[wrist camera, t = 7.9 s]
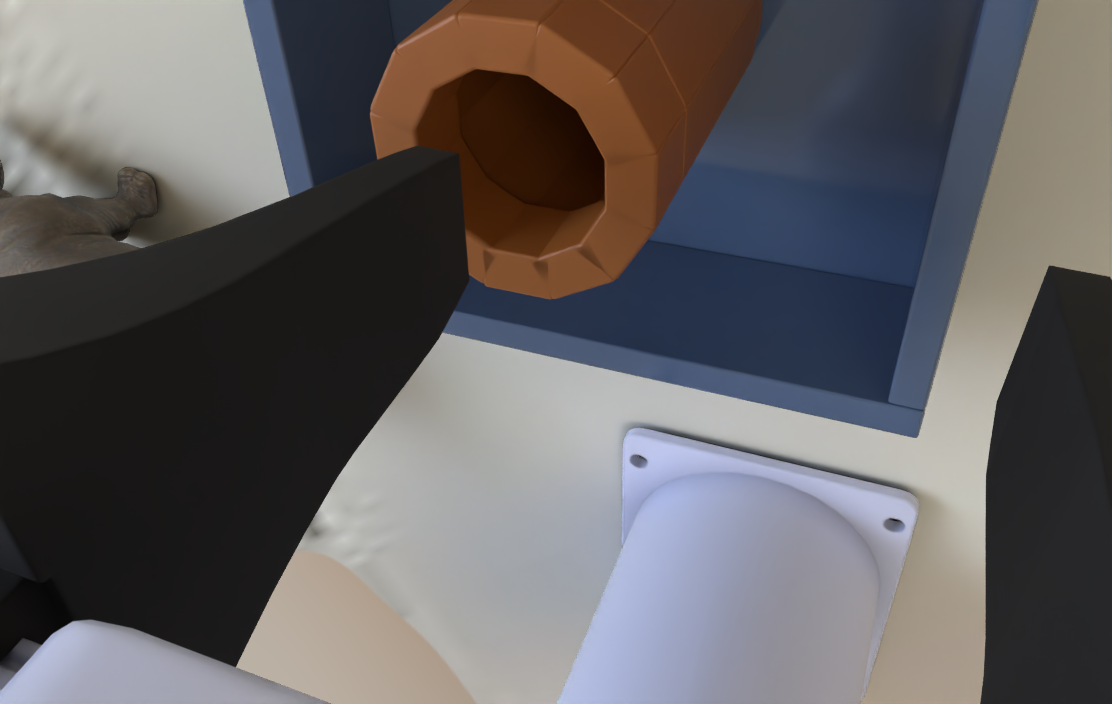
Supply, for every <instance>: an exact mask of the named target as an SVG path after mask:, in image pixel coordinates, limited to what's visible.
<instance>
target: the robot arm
mask: <svg viewBox="0 0 1112 704" xmlns="http://www.w3.org/2000/svg"><path fill="white" fill-rule="evenodd" d="M468 282H469V270H468V257H467V245H466V233H465V221H464V208H463V196H462V184H461V171H460V159H459V153H454V152H449V151H444V150H438V149H433V148H428V147H423V146H415V147H411V148H408V149H405V150H402V151H399V152H396V153H393V154H391V155H388V156H386V157H383V158H381V159H378V160H376V161H373V162H371V163H368V164H366V165H364V166H361V167H359V168H357V169H354V170H352V171H350V172H347V173H345V174H343V175H340V176H338V177H336V178H333V179H331V180H329V181H326V182H324V183H322V184H319V185H317V186H315V187H312V188H310V189H308V190H305V191H303V192H301V193H298V194H296V195H294V196H291V197H289V198H286V199H284V200H281V201H279V202H276V203H273V204H271V205H268V206H266V207H263V208H260V209H258V210H255V211H253V212H250V213H247V214H245V215H242V216H240V217H237V218H234V219H232V220H229V221H227V222H224V223H221V224H219V225H216V226H213V227H210V228H207V229H204V230H201V231H198V232H195V233H192V234H189V235H186V236H183V237H179V238H176V239H173V240H169V241H166V242H162V243H159V244H155V245H152V246H148V247H145V248H141V249H138V250H134V251H130V252H126V253H121V254H117V255H112V256H108V257H103V258H99V259H94V260H90V261H85V262H80V263H76V264H71V265H67V266H62V267H58V268H53V269H47V270H42V271H36V272H30V273H24V274H18V275H11V276H5V277H0V704H331V703H328V702H325V701H323V700H320V699H317V698H315V697H312V696H309V695H307V694H304V693H302V692H299V691H296V690H294V689H291V688H289V687H286V686H283V685H281V684H278V683H275V682H273V681H270V680H267V679H265V678H262V677H260V676H257V675H254V674H252V673H249V672H246V671H243V670H241V669H239V668H236V666H237V664H238V661H239V659H240V657H241V655H242V653H243V651H244V649H245V647H246V645H247V643H248V641H249V639H250V637H251V635H252V633H253V631H254V629H255V627H256V625H257V623H258V621H259V619H260V617H261V615H262V612H263V611H264V609H265V607H266V605H267V603H268V601H269V599H270V597H271V595H272V593H273V591H274V589H275V587H276V585H277V583H278V581H279V580H280V578H281V576H282V574H283V572H284V570H285V569H286V567H287V565H288V563H289V561H290V559H291V557H292V556H293V554H294V552H295V550H296V548H297V546H298V544H299V543H300V541H301V539H302V537H303V535H304V533H305V532H306V530H307V528H308V527H309V525H310V523H311V521H312V520H313V518H314V516H315V514H316V513H317V511H318V509H319V508H320V506H321V504H322V502H323V501H324V499H325V497H326V496H327V494H328V492H329V490H330V489H331V487H332V485H333V484H334V482H335V480H336V479H337V477H338V476H339V474H340V473H341V471H342V470H343V468H344V467H345V465H346V464H347V462H348V461H349V459H350V458H351V456H352V455H353V453H354V452H355V451H356V449H357V448H358V447H359V445H360V444H361V443H362V441H363V440H364V439H365V437H366V436H367V435H368V433H369V432H370V431H371V429H372V428H373V427H374V425H375V424H376V423H377V421H378V420H379V419H380V417H381V416H382V415H383V413H384V412H385V411H386V409H387V408H388V407H389V405H390V404H391V403H392V401H393V400H394V399H395V397H396V396H397V395H398V393H399V392H400V391H401V389H402V388H403V387H404V385H405V384H406V383H407V381H408V380H409V379H410V377H411V376H412V375H413V373H414V372H415V371H416V369H417V368H418V367H419V365H420V364H421V362H422V361H423V360H424V358H425V357H426V356H427V354H428V353H429V352H430V350H431V349H432V347H433V346H434V345H435V343H436V342H437V340H438V339H439V337H440V335H441V334H442V332H443V330H444V328H445V327H446V325H447V323H448V321H449V319H450V318H451V316H452V314H453V312H454V310H455V308H456V306H457V304H458V302H459V300H460V298H461V296H462V294H463V292H464V290H465V288H466V286H467V284H468ZM637 455H640V456H643V457H644V458H645V459H643V458H640V457H638V456H637ZM918 513H919V502H918V500H917V498H916V497H915V496H914V495H912V494H911V493H909V492H906V491H904V490H900V489H896V488H892V487H888V486H883V485H879V484H875V483H871V482H867V481H863V480H858V479H854V478H850V477H846V476H842V475H837V474H833V473H829V472H825V471H821V470H817V469H812V468H808V467H804V466H800V465H796V464H792V463H787V462H783V461H779V460H775V459H771V458H766V457H762V456H758V455H754V454H750V453H746V452H741V451H737V450H733V449H729V448H725V447H720V446H716V445H712V444H708V443H704V442H700V441H695V440H691V439H687V438H683V437H679V436H675V435H670V434H666V433H662V432H658V431H654V430H649V429H645V428H633V429H631V430H629V431H628V432H627V434H626V436H625V439H624V441H623V479H622V551H621V553H620V555H619V558H618V560H617V562H616V565H615V567H614V569H613V572H612V574H611V577H610V579H609V581H608V584H607V586H606V588H605V591H604V593H603V595H602V598H601V600H600V602H599V605H598V607H597V610H596V612H595V614H594V617H593V619H592V621H591V624H590V626H589V628H588V631H587V633H586V636H585V638H584V640H583V643H582V645H581V647H580V650H579V652H578V654H577V657H576V659H575V662H574V664H573V666H572V669H571V671H570V673H569V676H568V678H567V680H566V683H565V685H564V687H563V690H562V692H561V695H560V697H559V699H558V702H557V704H861V700H862V699H863V698H864V696H865V693H866V689H867V686H868V683H869V679H870V676H871V673H872V669H873V666H874V662H875V659H876V656H877V652H878V649H879V646H880V642H881V639H882V636H883V632H884V629H885V626H886V622H887V619H888V615H889V612H890V609H891V605H892V602H893V599H894V595H895V592H896V589H897V585H898V582H899V579H900V575H901V572H902V568H903V565H904V562H905V558H906V555H907V552H908V548H909V545H910V542H911V538H912V535H913V531H914V528H915V525H916V521H917V518H918ZM890 518H894V519H898V520H900V522H898V521H893V520H890ZM980 704H1112V280H1111V278H1110V277H1107V276H1102V275H1097V274H1092V273H1086V272H1081V271H1076V270H1070V269H1065V268H1060V267H1055V266H1049V267H1048V270H1047V272H1046V275H1045V277H1044V280H1043V283H1042V285H1041V288H1040V291H1039V293H1038V296H1037V298H1036V301H1035V304H1034V306H1033V309H1032V311H1031V314H1030V317H1029V319H1028V322H1027V324H1026V327H1025V330H1024V332H1023V335H1022V337H1021V340H1020V343H1019V345H1018V348H1017V351H1016V353H1015V356H1014V358H1013V361H1012V364H1011V366H1010V369H1009V371H1008V374H1007V377H1006V379H1005V382H1004V384H1003V387H1002V390H1001V392H1000V395H999V397H998V400H997V404H996V411H995V417H994V424H993V430H992V437H991V443H990V451H989V458H988V465H987V473H986V642H985V661H984V678H983V686H982V695H981V703H980Z"/></svg>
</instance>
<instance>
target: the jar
mask: <svg viewBox="0 0 1112 704" xmlns="http://www.w3.org/2000/svg"><path fill="white" fill-rule="evenodd" d="M761 20H762V0H452V1H451V2H450V3H449V4H447V5H446V6H445V7H444V8H443V9H442V10H440V11H439V12H438V13H437V14H435V15H434V16H433V17H432V18H430V19H429V20H428V21H427V22H425V23H424V24H423V25H422V26H420V27H419V28H418V29H417V30H415V31H414V32H413V33H412V34H410V35H409V36H408V37H407V38H405V39H404V40H403V41H402V42H400V43H399V44H398V46H397V48H395V49H394V50H393V53H392V55H391V57H390V60H389V62H388V65H387V67H386V70H385V72H384V75H383V77H382V80H381V82H380V84H379V87H378V89H377V92H376V94H375V97H374V99H373V102H372V104H371V112H370V119H371V125H372V131H373V136H374V142H375V148H376V154H377V160H378V159H381V158H383V157H386V156H388V155H391V154H393V153H396V152H399V151H402V150H405V149H408V148H411V147H415V146H423V147H428V148H433V149H438V150H444V151H449V152H454V153H459V159H460V171H461V184H462V196H463V208H464V221H465V233H466V245H467V257H468V270H469V275H470V276H472V277H473V278H475V279H476V280H478V281H479V282H481V283H484V284H485V286H487V287H491V288H496V289H501V290H506V291H511V292H516V293H521V294H526V295H530V296H535V297H540V298H545V299H558V298H561V297H564V296H568V295H571V294H574V293H577V292H581V291H584V290H587V289H591V288H594V287H597V286H601V285H604V284H607V283H611V282H613V281H614V280H616V279H618V278H619V277H620V275H621V274H622V273H623V271H624V270H625V269H626V268H627V266H628V265H629V264H630V262H631V261H632V260H633V258H634V257H635V256H636V255H637V253H638V252H639V251H640V249H641V248H642V247H643V246H644V244H645V243H646V242H647V240H648V239H649V238H650V237H651V235H652V234H653V233H654V231H655V230H656V228H657V226H658V224H659V223H660V221H661V219H662V217H663V216H664V214H665V212H666V210H667V208H668V207H669V205H670V203H671V201H672V200H673V198H674V196H675V194H676V193H677V191H678V189H679V187H680V185H681V183H682V182H683V180H684V179H685V177H686V175H687V173H688V172H689V170H690V168H691V166H692V164H693V163H694V161H695V159H696V157H697V156H698V154H699V152H700V150H701V149H702V147H703V145H704V143H705V141H706V140H707V138H708V136H709V134H710V133H711V131H712V129H713V127H714V126H715V124H716V122H717V120H718V118H719V117H720V115H721V113H722V111H723V110H724V108H725V106H726V104H727V103H728V101H729V99H730V97H731V95H732V94H733V92H734V90H735V88H736V87H737V85H738V83H739V81H740V80H741V78H742V76H743V74H744V72H745V71H746V69H747V67H748V65H749V64H750V62H751V60H752V57H753V55H754V47H755V45H756V41H757V38H758V35H759V32H760V26H761Z"/></svg>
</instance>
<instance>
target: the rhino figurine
mask: <svg viewBox="0 0 1112 704" xmlns="http://www.w3.org/2000/svg"><path fill="white" fill-rule="evenodd" d="M3 184H4V171H3V167H2V163H1V160H0V277H5V276H11V275H18V274H24V273H30V272H36V271H42V270H47V269H53V268H58V267H62V266H67V265H71V264H76V263H80V262H85V261H90V260H94V259H99V258H103V257H108V256H112V255H117V254H121V253H126V252H130V251H134V250H138V249H141V248H138V247H135V246H132V245H130V244H127V243H121V242H118V241H122V240H124V239H125V238H126V237H127V236H128V235H129V232H130V226H131V225H132V223H134V222H135V221H137V220H138V219H141V218H148V217H152V216H154V215H155V214H156V213H157V208H158V204H157V197H156V190H155V183H154V181H153V180H152V178H151V177H150V176H149V175H148V174H146V173H143V172H137V171H135V170H134V169H132V168H128V167H125V168H123V169H121V170H120V171H119V173H118V192H117V194H116V196H115V198H113V199H93V198H89V197H85V196H72V197H66V198H61V197H59V196H56V195H54V194H50V193H49V194H43V195H26V196H19V197H13V196H12V195H11V194H10V193H9V192H8V191H5V190H3V189H2V188H3Z"/></svg>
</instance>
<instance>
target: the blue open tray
mask: <svg viewBox="0 0 1112 704" xmlns="http://www.w3.org/2000/svg"><path fill="white" fill-rule="evenodd" d="M451 1H452V0H243V3H244V7H245V12H246V16H247V20H248V24H249V28H250V32H251V37H252V41H253V45H254V49H255V53H256V57H257V62H258V66H259V70H260V74H261V78H262V82H263V87H264V91H265V95H266V99H267V103H268V108H269V112H270V116H271V120H272V124H273V128H274V133H275V137H276V141H277V145H278V149H279V153H280V158H281V162H282V166H283V170H284V174H285V178H286V183H287V187H288V191H289V195H290V197H291V196H294V195H296V194H298V193H301V192H303V191H305V190H308V189H310V188H312V187H315V186H317V185H319V184H322V183H324V182H326V181H329V180H331V179H333V178H336V177H338V176H340V175H343V174H345V173H347V172H350V171H352V170H354V169H357V168H359V167H361V166H364V165H366V164H368V163H371V162H373V161H376V160H377V154H376V148H375V142H374V136H373V131H372V125H371V119H370V112H371V104H372V102H373V99H374V97H375V94H376V92H377V89H378V87H379V84H380V82H381V80H382V77H383V75H384V72H385V70H386V67H387V65H388V62H389V60H390V57H391V55H392V53H393V50H394V49H395V48H397V46H398V44H399V43H400V42H402V41H403V40H404V39H405V38H407V37H408V36H409V35H410V34H412V33H413V32H414V31H415V30H417V29H418V28H419V27H420V26H422V25H423V24H424V23H425V22H427V21H428V20H429V19H430V18H432V17H433V16H434V15H435V14H437V13H438V12H439V11H440V10H442V9H443V8H444V7H445V6H446V5H447V4H449V3H450V2H451ZM1038 1H1039V0H762V20H761V26H760V32H759V35H758V38H757V41H756V45H755V47H754V55H753V57H752V60H751V62H750V64H749V65H748V67H747V69H746V71H745V72H744V74H743V76H742V78H741V80H740V81H739V83H738V85H737V87H736V88H735V90H734V92H733V94H732V95H731V97H730V99H729V101H728V103H727V104H726V106H725V108H724V110H723V111H722V113H721V115H720V117H719V118H718V120H717V122H716V124H715V126H714V127H713V129H712V131H711V133H710V134H709V136H708V138H707V140H706V141H705V143H704V145H703V147H702V149H701V150H700V152H699V154H698V156H697V157H696V159H695V161H694V163H693V164H692V166H691V168H690V170H689V172H688V173H687V175H686V177H685V179H684V180H683V182H682V183H681V185H680V187H679V189H678V191H677V193H676V194H675V196H674V198H673V200H672V201H671V203H670V205H669V207H668V208H667V210H666V212H665V214H664V216H663V217H662V219H661V221H660V223H659V224H658V226H657V228H656V230H655V231H654V233H653V234H652V235H651V237H650V238H649V239H648V240H647V242H646V243H645V244H644V246H643V247H642V248H641V249H640V251H639V252H638V253H637V255H636V256H635V257H634V258H633V260H632V261H631V262H630V264H629V265H628V266H627V268H626V269H625V270H624V271H623V273H622V274H621V275H620V277H619V278H618V279H616V280H614V281H613V282H611V283H607V284H604V285H601V286H597V287H594V288H591V289H587V290H584V291H581V292H577V293H574V294H571V295H568V296H564V297H561V298H558V299H545V298H540V297H535V296H530V295H526V294H521V293H516V292H511V291H506V290H501V289H496V288H491V287H487V286H485V284H484V283H481V282H479V281H478V280H476V279H475V278H473V277H472V276H470V275H469V282H468V284H467V286H466V288H465V290H464V292H463V294H462V296H461V298H460V300H459V302H458V304H457V306H456V308H455V310H454V312H453V314H452V316H451V318H450V319H449V321H448V323H447V325H446V327H445V328H444V330H443V332H442V333H447V334H451V335H456V336H460V337H465V338H469V339H474V340H478V341H483V342H487V343H492V344H496V345H501V346H505V347H510V348H514V349H519V350H523V351H527V352H532V353H536V354H541V355H545V356H550V357H554V358H559V359H563V360H568V361H572V362H577V363H581V364H586V365H590V366H595V367H599V368H604V369H608V370H613V371H617V372H622V373H626V374H631V375H635V376H640V377H644V378H649V379H653V380H657V381H662V382H666V383H671V384H675V385H680V386H684V387H689V388H693V389H698V390H702V391H707V392H711V393H716V394H720V395H725V396H729V397H734V398H738V399H743V400H747V401H752V402H756V403H761V404H765V405H770V406H774V407H779V408H783V409H787V410H792V411H796V412H801V413H805V414H810V415H814V416H819V417H823V418H828V419H832V420H837V421H841V422H846V423H850V424H855V425H859V426H864V427H868V428H873V429H877V430H882V431H886V432H891V433H895V434H900V435H904V436H908V437H913V438H917V437H918V436H919V432H920V429H921V425H922V421H923V418H924V414H925V408H926V406H927V403H928V399H929V396H930V392H931V388H932V385H933V381H934V377H935V374H936V370H937V367H938V363H939V359H940V356H941V352H942V348H943V345H944V341H945V338H946V334H947V330H948V327H949V323H950V320H951V316H952V312H953V309H954V305H955V301H956V298H957V294H958V291H959V287H960V283H961V280H962V276H963V273H964V269H965V265H966V262H967V258H968V254H969V251H970V247H971V244H972V240H973V236H974V233H975V229H976V225H977V222H978V218H979V215H980V211H981V207H982V204H983V200H984V197H985V193H986V189H987V186H988V182H989V178H990V175H991V171H992V168H993V164H994V160H995V157H996V153H997V150H998V146H999V142H1000V139H1001V135H1002V131H1003V128H1004V124H1005V121H1006V117H1007V113H1008V110H1009V106H1010V102H1011V99H1012V95H1013V92H1014V88H1015V84H1016V81H1017V77H1018V74H1019V70H1020V66H1021V63H1022V59H1023V55H1024V52H1025V48H1026V45H1027V41H1028V37H1029V34H1030V30H1031V27H1032V23H1033V19H1034V16H1035V12H1036V8H1037V5H1038Z"/></svg>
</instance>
